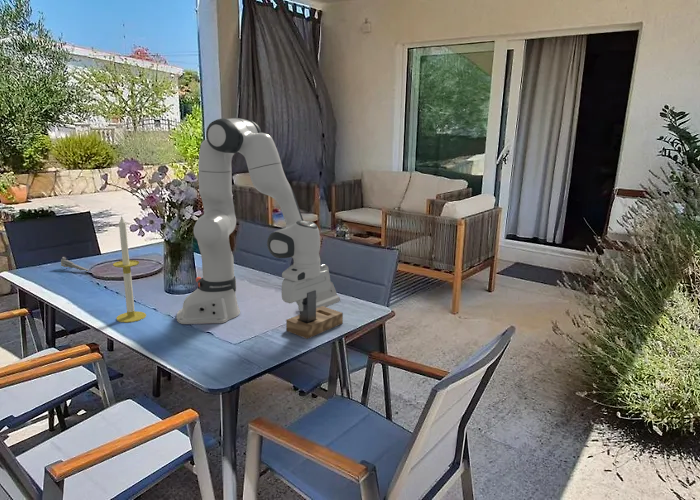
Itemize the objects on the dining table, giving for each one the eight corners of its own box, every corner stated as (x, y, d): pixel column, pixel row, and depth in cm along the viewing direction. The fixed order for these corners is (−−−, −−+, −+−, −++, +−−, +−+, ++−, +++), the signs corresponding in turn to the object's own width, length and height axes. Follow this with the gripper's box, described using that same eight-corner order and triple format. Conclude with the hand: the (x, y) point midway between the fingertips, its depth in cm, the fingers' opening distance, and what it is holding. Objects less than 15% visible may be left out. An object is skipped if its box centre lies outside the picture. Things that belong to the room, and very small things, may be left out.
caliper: (61, 269, 232) (59, 256, 230) (63, 269, 233) (62, 256, 231) (93, 275, 224) (91, 262, 223) (95, 274, 225) (93, 261, 224)
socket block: (307, 338, 161) (307, 327, 160) (286, 330, 167) (286, 319, 166) (342, 323, 174) (342, 312, 173) (322, 316, 180) (322, 306, 179)
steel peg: (307, 326, 164) (307, 293, 161) (299, 323, 167) (299, 290, 164) (316, 323, 167) (315, 290, 164) (307, 320, 170) (307, 287, 167)
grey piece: (312, 312, 184) (306, 286, 184) (304, 313, 187) (297, 288, 187) (341, 300, 197) (335, 277, 196) (333, 302, 200) (327, 278, 200)
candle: (131, 324, 169) (121, 218, 160) (109, 320, 173) (98, 216, 164) (152, 314, 179) (143, 214, 169) (130, 310, 182) (121, 211, 173)
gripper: (321, 261, 172) (321, 298, 175) (278, 274, 157) (279, 314, 160) (334, 264, 168) (334, 302, 171) (291, 278, 153) (292, 319, 156)
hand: (307, 308), depth 165 cm, fingers closed on steel peg, 4 cm apart
